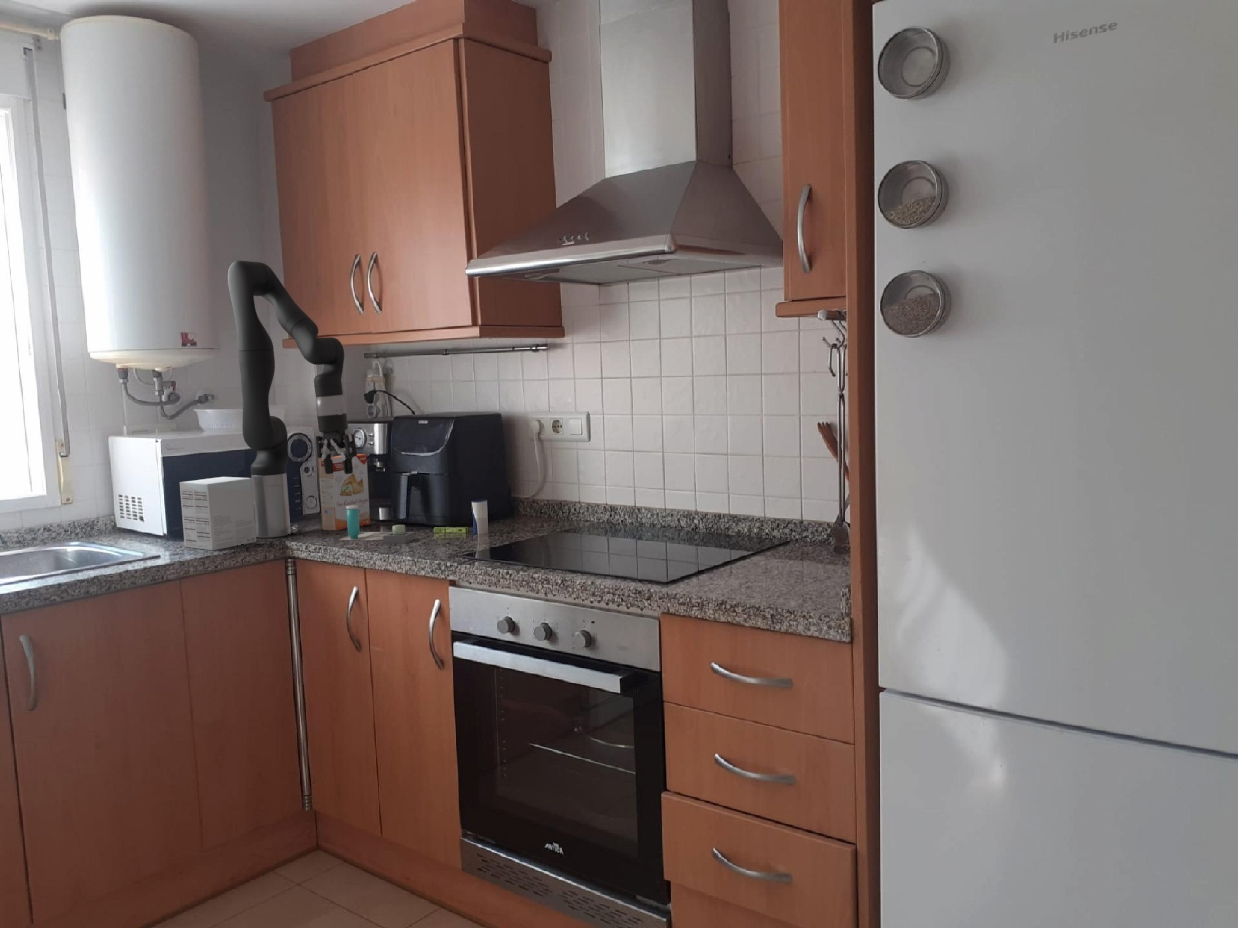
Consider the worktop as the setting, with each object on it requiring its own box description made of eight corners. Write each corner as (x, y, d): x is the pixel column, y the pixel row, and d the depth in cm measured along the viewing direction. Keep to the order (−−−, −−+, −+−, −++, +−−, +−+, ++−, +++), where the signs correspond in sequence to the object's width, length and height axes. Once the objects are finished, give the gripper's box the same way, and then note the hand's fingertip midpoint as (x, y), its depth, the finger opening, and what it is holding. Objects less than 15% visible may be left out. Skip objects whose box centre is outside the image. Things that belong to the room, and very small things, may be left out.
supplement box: (227, 539, 271) (223, 476, 269) (257, 542, 264) (252, 477, 262) (183, 547, 260) (177, 481, 258) (212, 550, 253) (207, 483, 251)
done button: (390, 538, 252) (390, 526, 251) (396, 536, 255) (395, 524, 254) (402, 538, 251) (401, 526, 251) (407, 536, 254) (406, 524, 254)
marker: (345, 539, 258) (343, 507, 257) (351, 537, 261) (349, 505, 260) (356, 539, 258) (354, 507, 257) (362, 537, 261) (360, 505, 260)
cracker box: (337, 532, 275) (332, 458, 273) (321, 531, 277) (316, 458, 275) (372, 524, 287) (367, 453, 285) (356, 523, 290) (351, 453, 288)
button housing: (383, 545, 251) (383, 535, 251) (393, 541, 257) (393, 531, 256) (405, 545, 249) (404, 535, 249) (415, 541, 255) (414, 531, 255)
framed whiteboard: (334, 542, 258) (333, 539, 258) (357, 534, 271) (357, 531, 271) (390, 542, 255) (390, 539, 255) (411, 534, 267) (411, 531, 267)
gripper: (303, 415, 262) (311, 475, 263) (335, 413, 253) (343, 475, 254) (327, 413, 267) (335, 471, 269) (359, 410, 258) (367, 471, 260)
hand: (339, 473), depth 262 cm, fingers open, 8 cm apart
